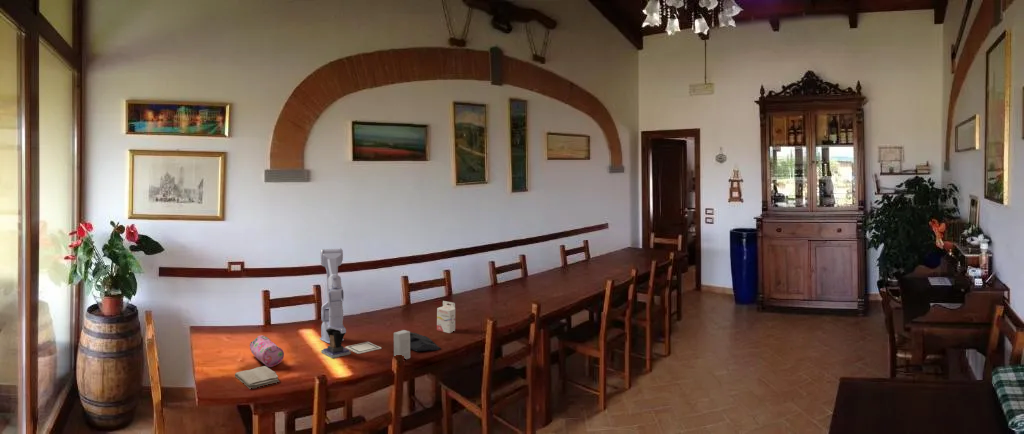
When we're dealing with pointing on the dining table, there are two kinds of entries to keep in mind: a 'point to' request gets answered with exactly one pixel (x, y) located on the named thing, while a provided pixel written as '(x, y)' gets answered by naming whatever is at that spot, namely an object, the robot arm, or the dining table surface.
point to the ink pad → (335, 353)
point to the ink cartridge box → (446, 317)
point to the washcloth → (257, 377)
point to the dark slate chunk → (421, 343)
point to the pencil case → (266, 351)
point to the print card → (363, 347)
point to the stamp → (333, 346)
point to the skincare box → (402, 343)
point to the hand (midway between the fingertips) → (336, 345)
